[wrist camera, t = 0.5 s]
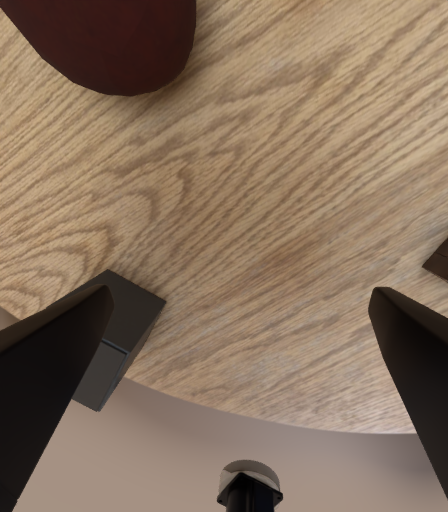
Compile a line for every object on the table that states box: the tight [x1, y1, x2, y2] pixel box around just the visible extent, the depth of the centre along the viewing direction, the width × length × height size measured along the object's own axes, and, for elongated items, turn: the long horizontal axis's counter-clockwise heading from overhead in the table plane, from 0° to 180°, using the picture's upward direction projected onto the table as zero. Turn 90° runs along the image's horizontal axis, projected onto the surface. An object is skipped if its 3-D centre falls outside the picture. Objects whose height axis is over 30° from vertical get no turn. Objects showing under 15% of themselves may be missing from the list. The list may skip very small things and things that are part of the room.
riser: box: [46, 269, 166, 412], centre depth 24 cm, size 7×7×8 cm
